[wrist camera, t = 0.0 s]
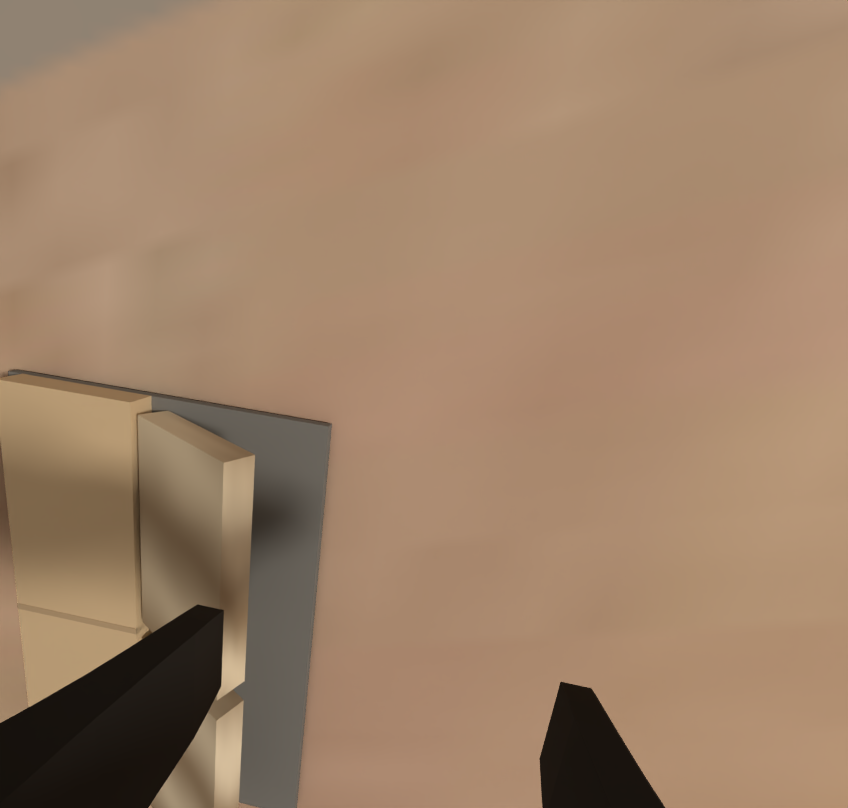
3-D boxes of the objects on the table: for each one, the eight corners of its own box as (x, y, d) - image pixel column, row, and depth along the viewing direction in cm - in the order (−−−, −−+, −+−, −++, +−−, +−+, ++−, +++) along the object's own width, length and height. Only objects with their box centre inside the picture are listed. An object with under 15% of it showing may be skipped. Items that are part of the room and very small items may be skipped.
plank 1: (244, 680, 18) (216, 700, 17) (169, 608, 22) (142, 621, 21) (255, 454, 16) (223, 462, 15) (168, 410, 19) (137, 414, 18)
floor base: (296, 807, 24) (284, 843, 23) (51, 747, 25) (24, 777, 24) (331, 424, 19) (318, 435, 17) (17, 369, 20) (-23, 375, 18)
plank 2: (235, 867, 21) (211, 893, 20) (170, 779, 24) (146, 798, 23) (243, 700, 19) (216, 720, 18) (169, 626, 22) (142, 639, 21)
